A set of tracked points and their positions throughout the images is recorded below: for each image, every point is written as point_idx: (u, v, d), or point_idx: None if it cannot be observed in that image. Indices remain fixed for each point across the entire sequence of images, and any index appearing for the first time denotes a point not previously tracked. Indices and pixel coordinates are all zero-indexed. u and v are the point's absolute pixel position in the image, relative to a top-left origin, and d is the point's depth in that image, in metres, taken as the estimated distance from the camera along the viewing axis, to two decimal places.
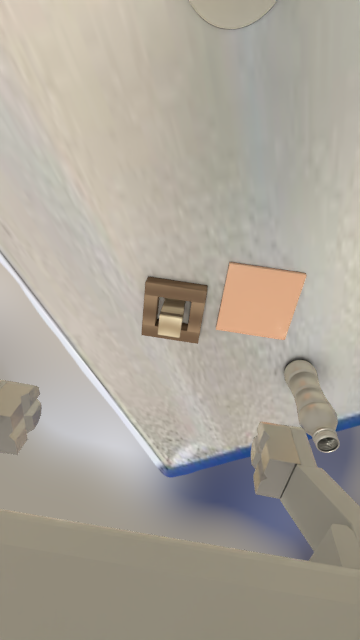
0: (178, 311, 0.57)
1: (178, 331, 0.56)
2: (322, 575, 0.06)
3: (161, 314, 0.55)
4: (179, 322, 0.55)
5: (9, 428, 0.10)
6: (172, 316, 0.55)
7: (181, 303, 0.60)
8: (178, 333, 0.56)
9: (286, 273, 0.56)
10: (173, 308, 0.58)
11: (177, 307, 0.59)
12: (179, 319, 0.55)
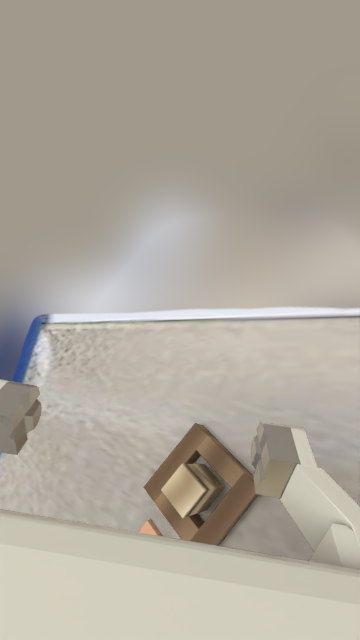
0: (195, 509, 0.38)
1: (169, 496, 0.37)
2: (322, 575, 0.06)
3: (204, 492, 0.36)
4: (179, 509, 0.36)
5: (9, 428, 0.10)
6: (193, 505, 0.36)
7: (204, 507, 0.41)
8: (166, 494, 0.37)
9: None
10: (203, 502, 0.39)
11: (202, 505, 0.39)
12: (183, 513, 0.36)
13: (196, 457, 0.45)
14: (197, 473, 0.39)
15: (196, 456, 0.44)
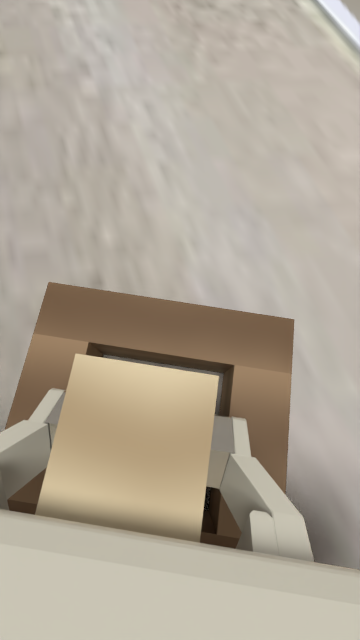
0: None
1: (74, 403, 0.08)
2: (322, 575, 0.06)
3: None
4: (58, 480, 0.08)
5: None
6: None
7: None
8: (76, 387, 0.08)
9: None
10: None
11: None
12: (55, 508, 0.08)
13: (201, 367, 0.16)
14: None
15: (205, 367, 0.16)
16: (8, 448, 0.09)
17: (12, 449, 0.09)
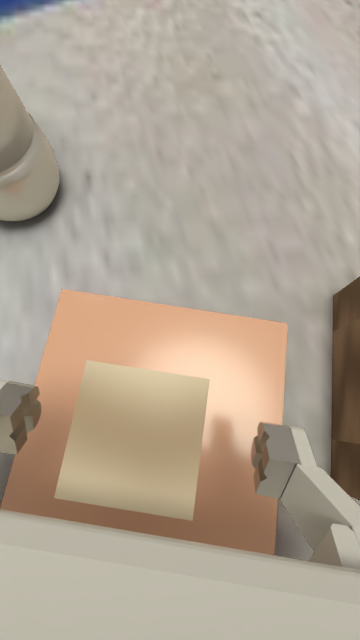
0: None
1: (86, 403, 0.10)
2: (322, 575, 0.06)
3: None
4: (73, 468, 0.09)
5: (9, 428, 0.10)
6: None
7: None
8: (88, 389, 0.10)
9: None
10: None
11: None
12: (71, 491, 0.09)
13: None
14: None
15: None
16: None
17: None
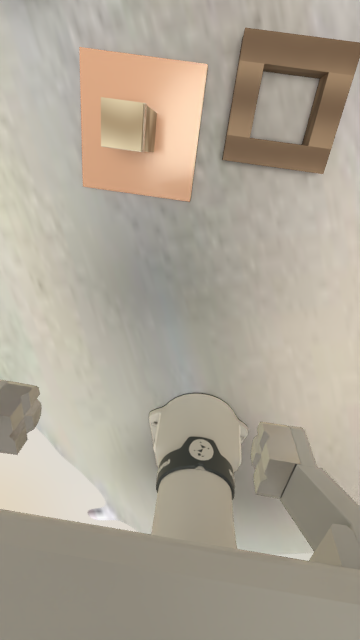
0: None
1: (104, 114, 0.29)
2: (322, 575, 0.06)
3: (138, 151, 0.31)
4: (104, 136, 0.30)
5: (9, 428, 0.10)
6: (119, 148, 0.31)
7: None
8: (103, 109, 0.29)
9: (109, 187, 0.40)
10: None
11: None
12: (105, 143, 0.31)
13: (310, 75, 0.33)
14: (146, 124, 0.32)
15: (312, 75, 0.33)
16: None
17: None
